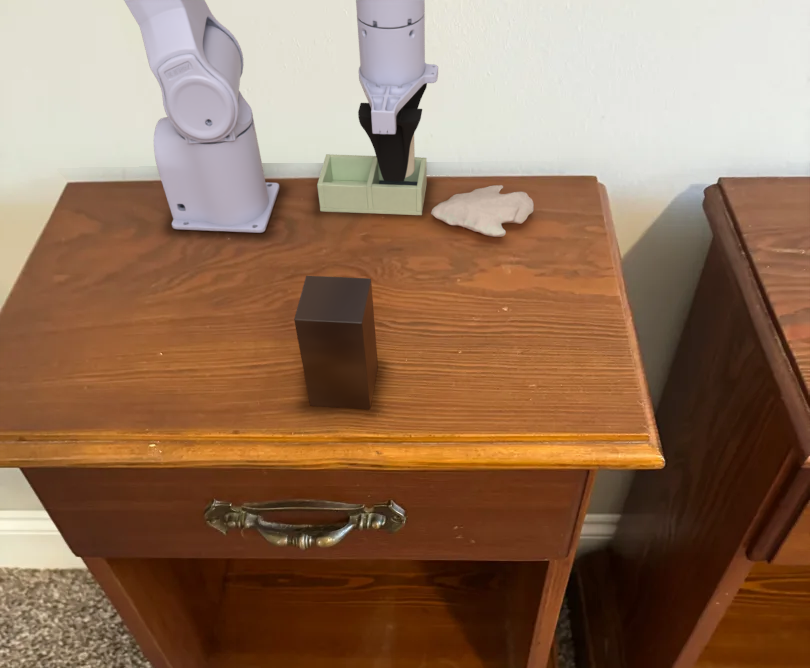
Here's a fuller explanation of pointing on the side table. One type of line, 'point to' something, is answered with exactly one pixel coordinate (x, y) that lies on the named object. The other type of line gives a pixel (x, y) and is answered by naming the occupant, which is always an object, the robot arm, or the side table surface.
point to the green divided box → (369, 187)
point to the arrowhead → (485, 210)
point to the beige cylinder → (411, 159)
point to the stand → (337, 341)
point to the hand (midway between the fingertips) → (396, 167)
